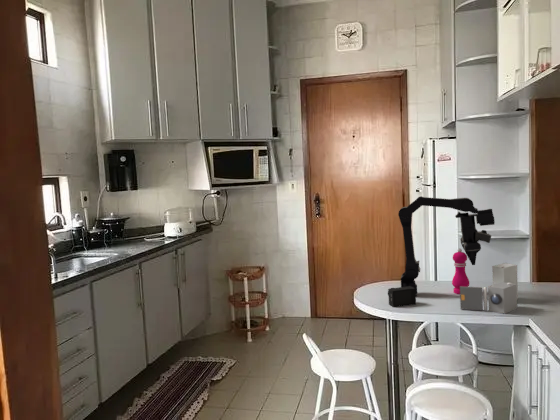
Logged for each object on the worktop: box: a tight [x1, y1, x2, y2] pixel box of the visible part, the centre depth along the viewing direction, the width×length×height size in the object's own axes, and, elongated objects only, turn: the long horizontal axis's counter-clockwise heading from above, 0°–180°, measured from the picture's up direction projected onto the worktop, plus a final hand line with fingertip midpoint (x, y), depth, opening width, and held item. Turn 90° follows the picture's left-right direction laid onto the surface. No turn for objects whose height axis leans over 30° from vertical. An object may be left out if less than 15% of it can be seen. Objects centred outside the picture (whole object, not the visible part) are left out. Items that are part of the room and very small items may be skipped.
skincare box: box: [491, 262, 519, 300], centre depth 189 cm, size 8×6×15 cm
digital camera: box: [387, 286, 417, 308], centre depth 193 cm, size 10×5×7 cm, turn 102°
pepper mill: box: [451, 248, 470, 295], centre depth 205 cm, size 7×7×20 cm
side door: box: [459, 286, 488, 311], centre depth 178 cm, size 10×2×9 cm, turn 66°
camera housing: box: [487, 282, 518, 315], centre depth 177 cm, size 6×11×10 cm, turn 126°
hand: (472, 262), depth 198 cm, fingers open, 9 cm apart
